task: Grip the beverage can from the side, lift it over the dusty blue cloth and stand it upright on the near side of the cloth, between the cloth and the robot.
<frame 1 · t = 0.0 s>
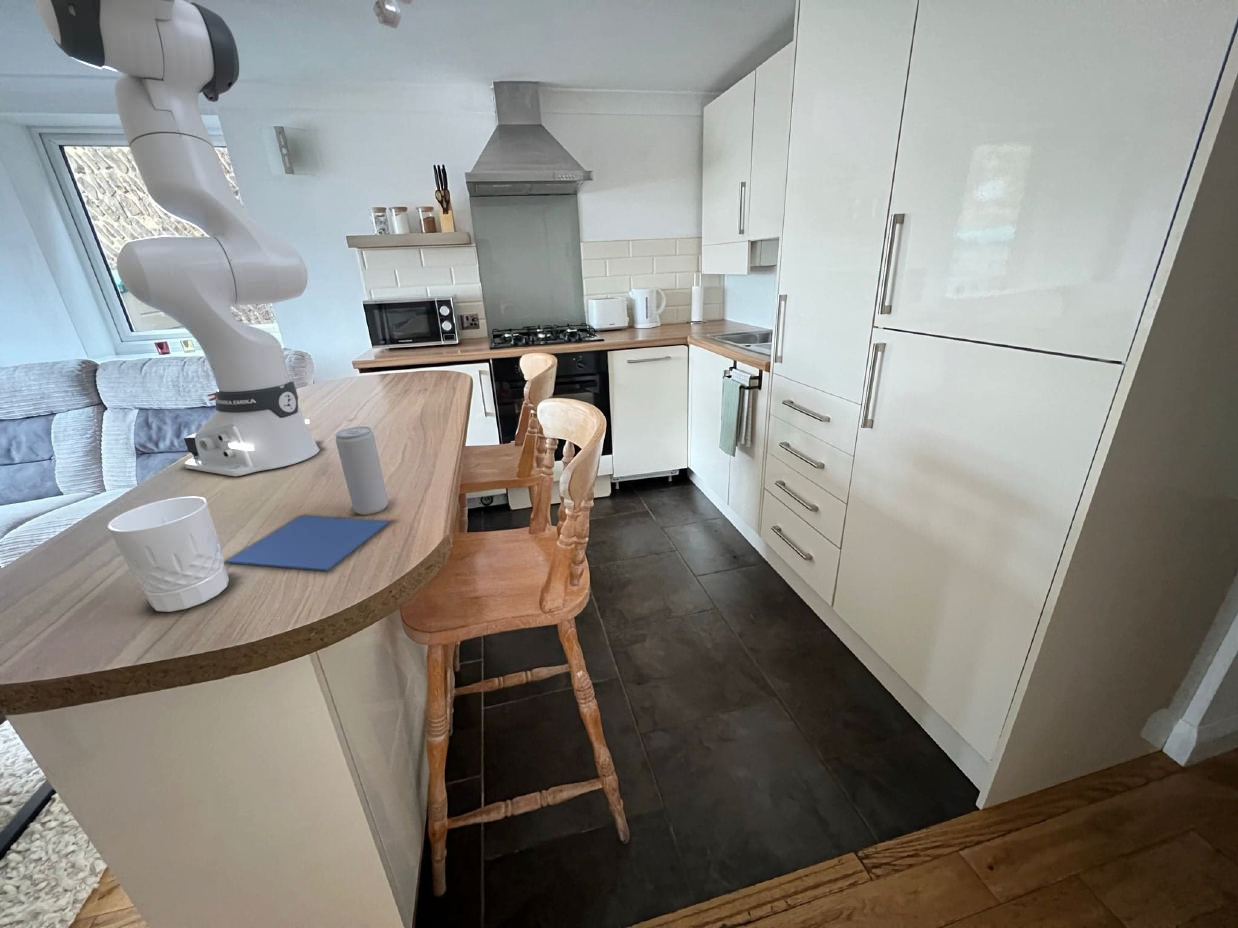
hand: (340, 3, 44), 54 cm above the table, tool tilted 30°, fingers open, 8 cm apart
blue cloth: (312, 541, 66), on the table
beverage can: (372, 509, 75), on the table
white cup: (192, 594, 56), on the table
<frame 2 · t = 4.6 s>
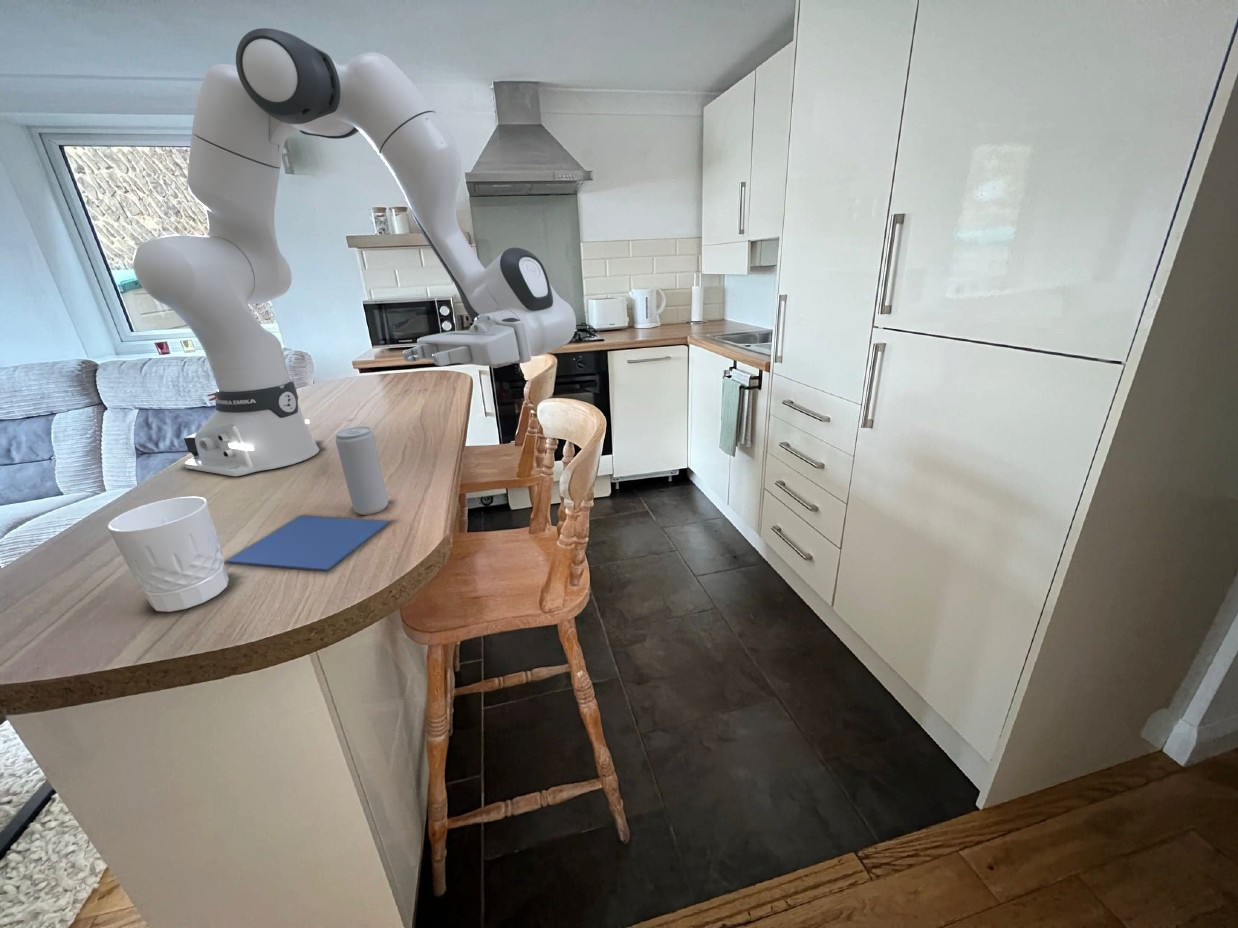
hand: (419, 358, 75), 20 cm above the table, tool horizontal, fingers open, 8 cm apart
nothing on the table moved.
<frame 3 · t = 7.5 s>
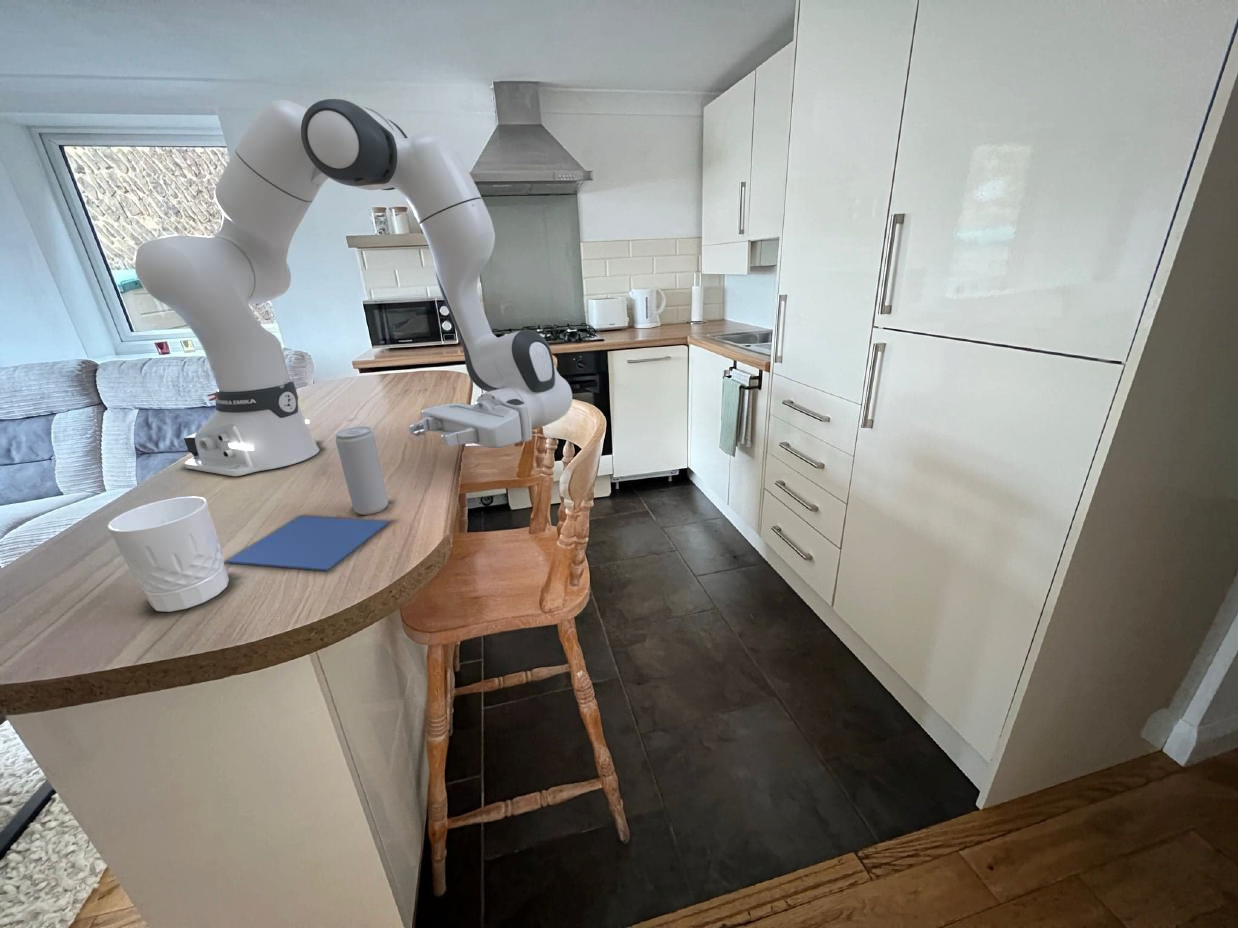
hand: (427, 436, 79), 8 cm above the table, tool horizontal, fingers open, 8 cm apart
nothing on the table moved.
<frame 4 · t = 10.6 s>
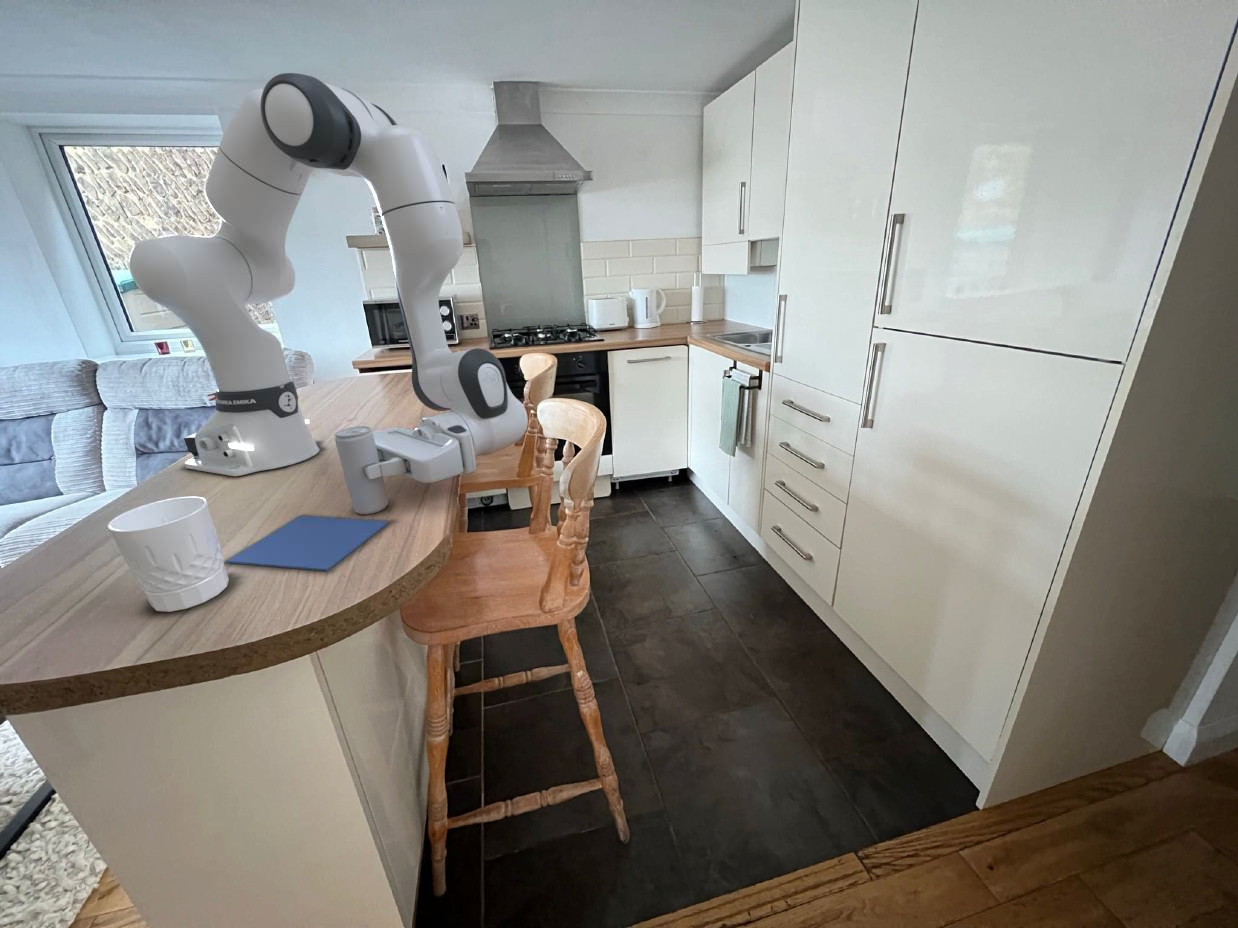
hand: (355, 468, 72), 7 cm above the table, tool horizontal, fingers closed on beverage can, 5 cm apart
beverage can: (372, 509, 75), on the table, touching gripper
everything else where it was.
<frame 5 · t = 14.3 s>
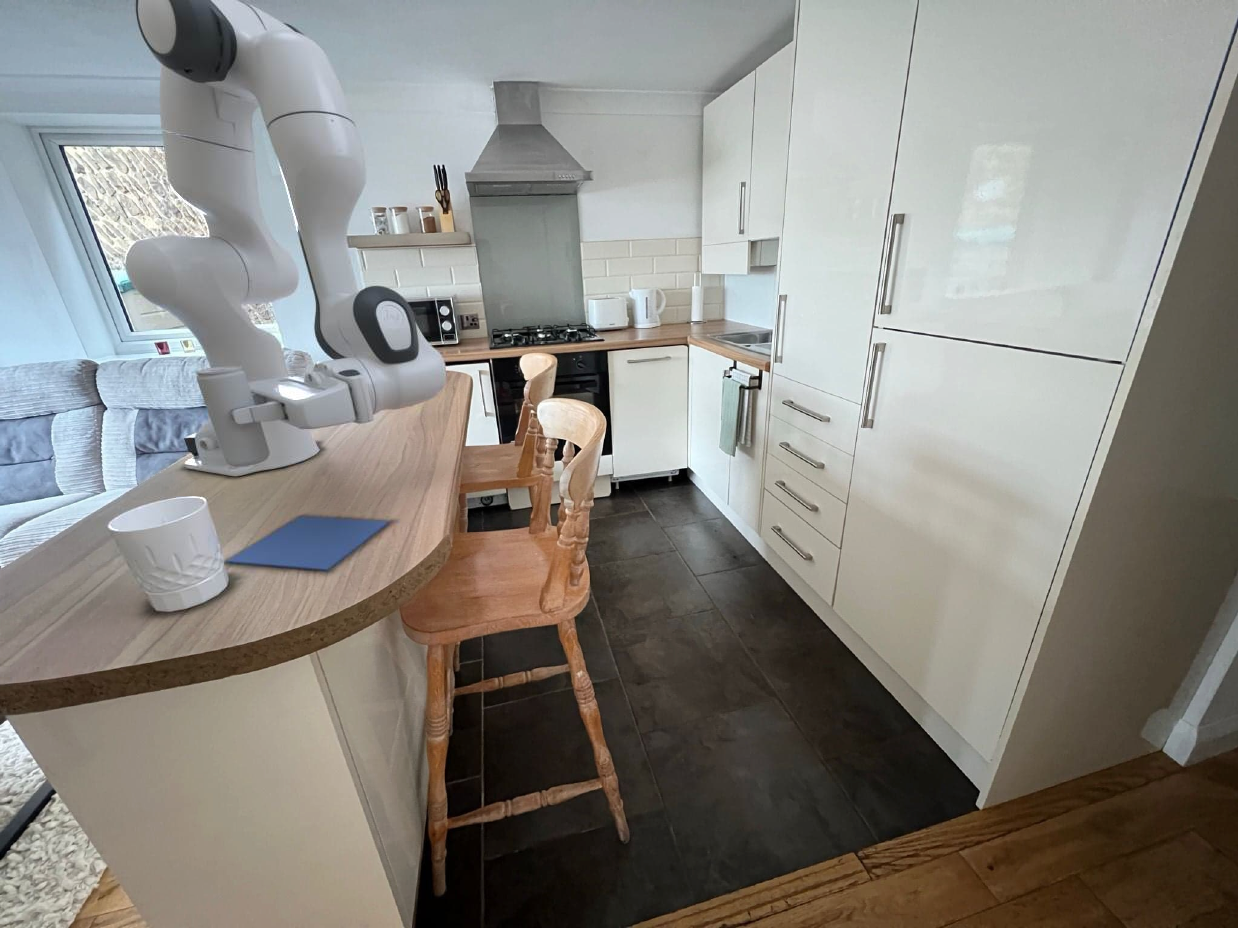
hand: (224, 413, 62), 17 cm above the table, tool horizontal, fingers closed on beverage can, 5 cm apart
beverage can: (249, 462, 66), point 10 cm above the table, touching gripper
everything else where it was.
when the fingers open (7 cm above the table, at t = 18.2 s): beverage can stays where it is, on the table.
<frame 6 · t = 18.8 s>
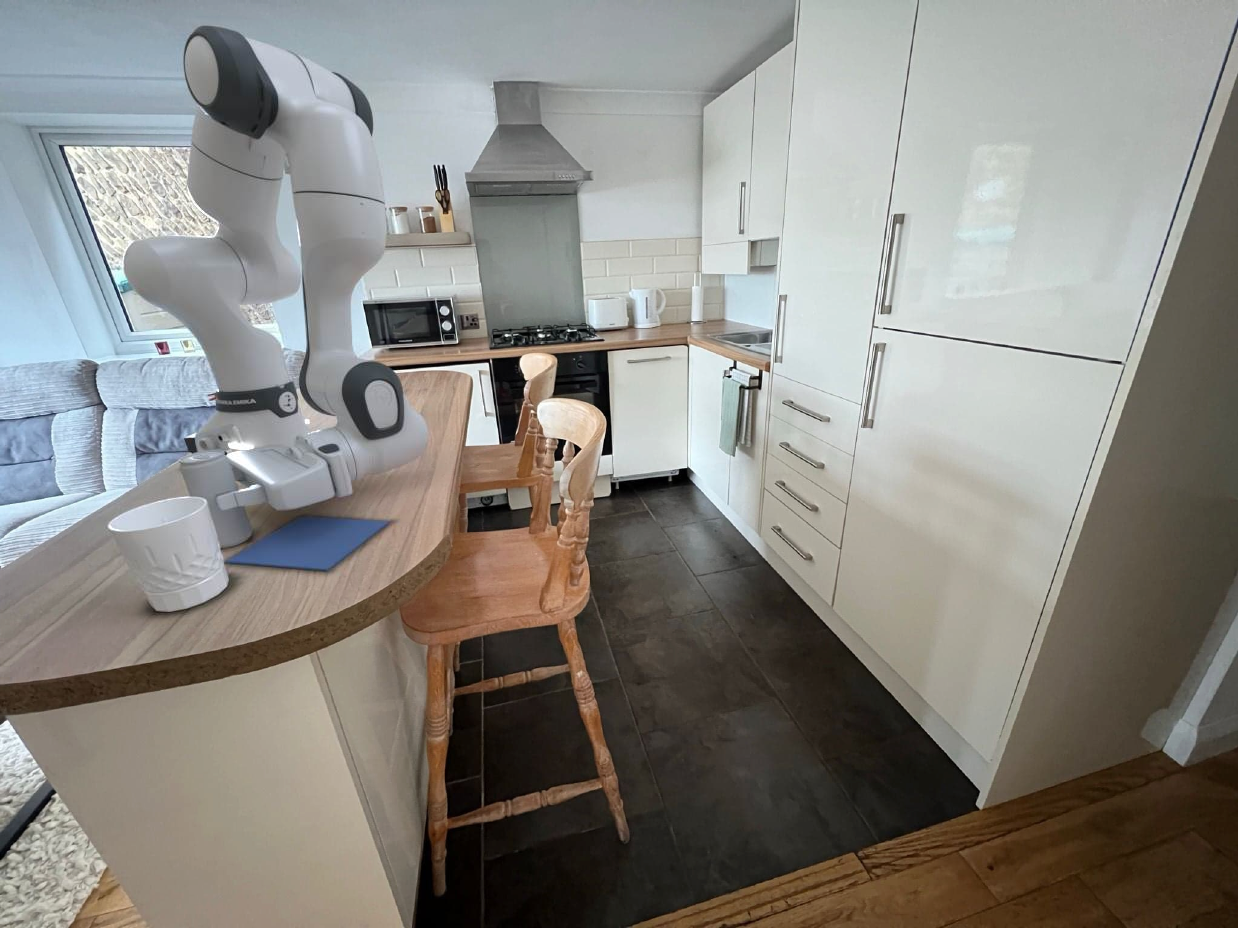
hand: (205, 493, 64), 7 cm above the table, tool horizontal, fingers open, 8 cm apart
beverage can: (232, 541, 67), on the table
everything else where it was.
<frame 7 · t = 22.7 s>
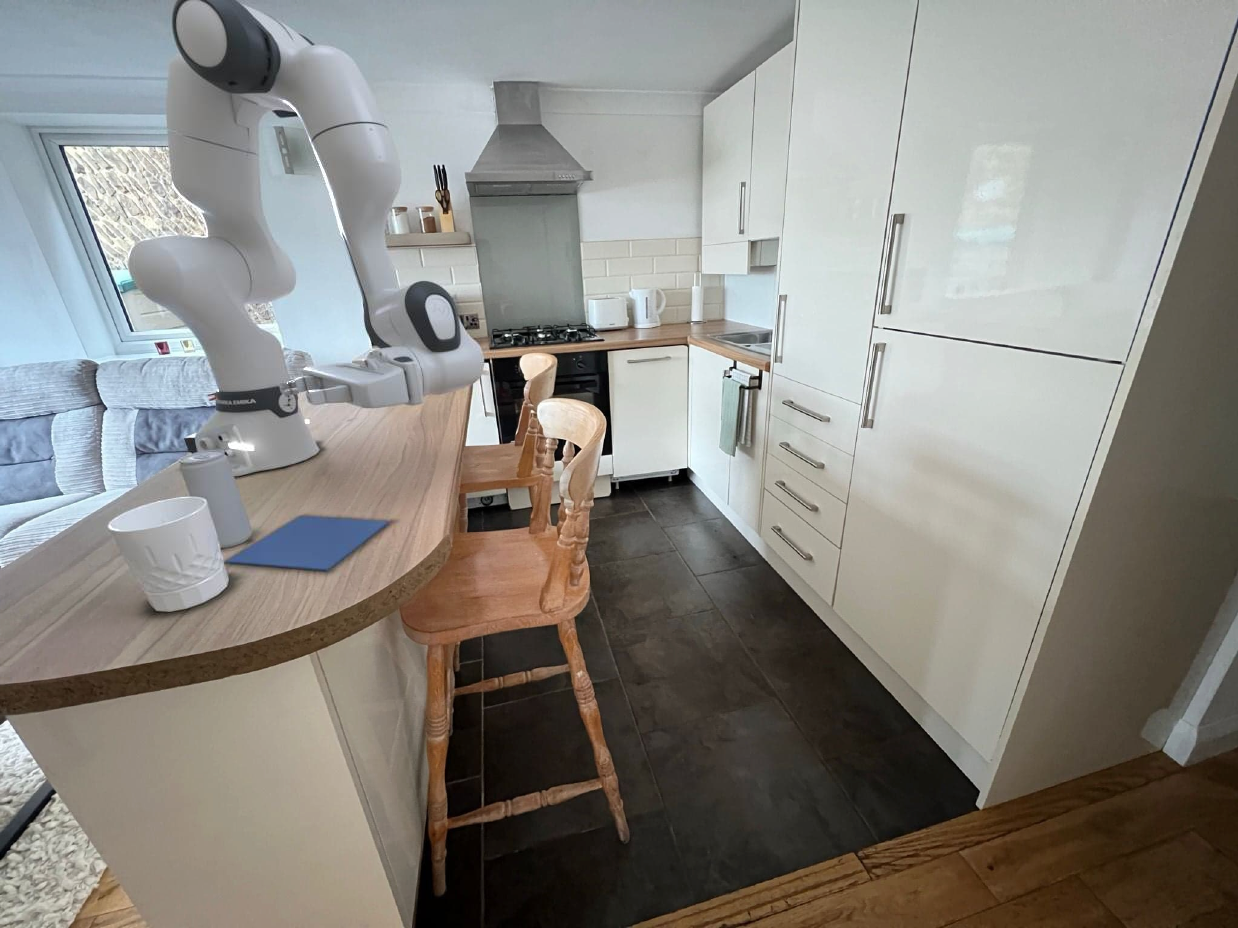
hand: (294, 393, 69), 17 cm above the table, tool horizontal, fingers open, 8 cm apart
nothing on the table moved.
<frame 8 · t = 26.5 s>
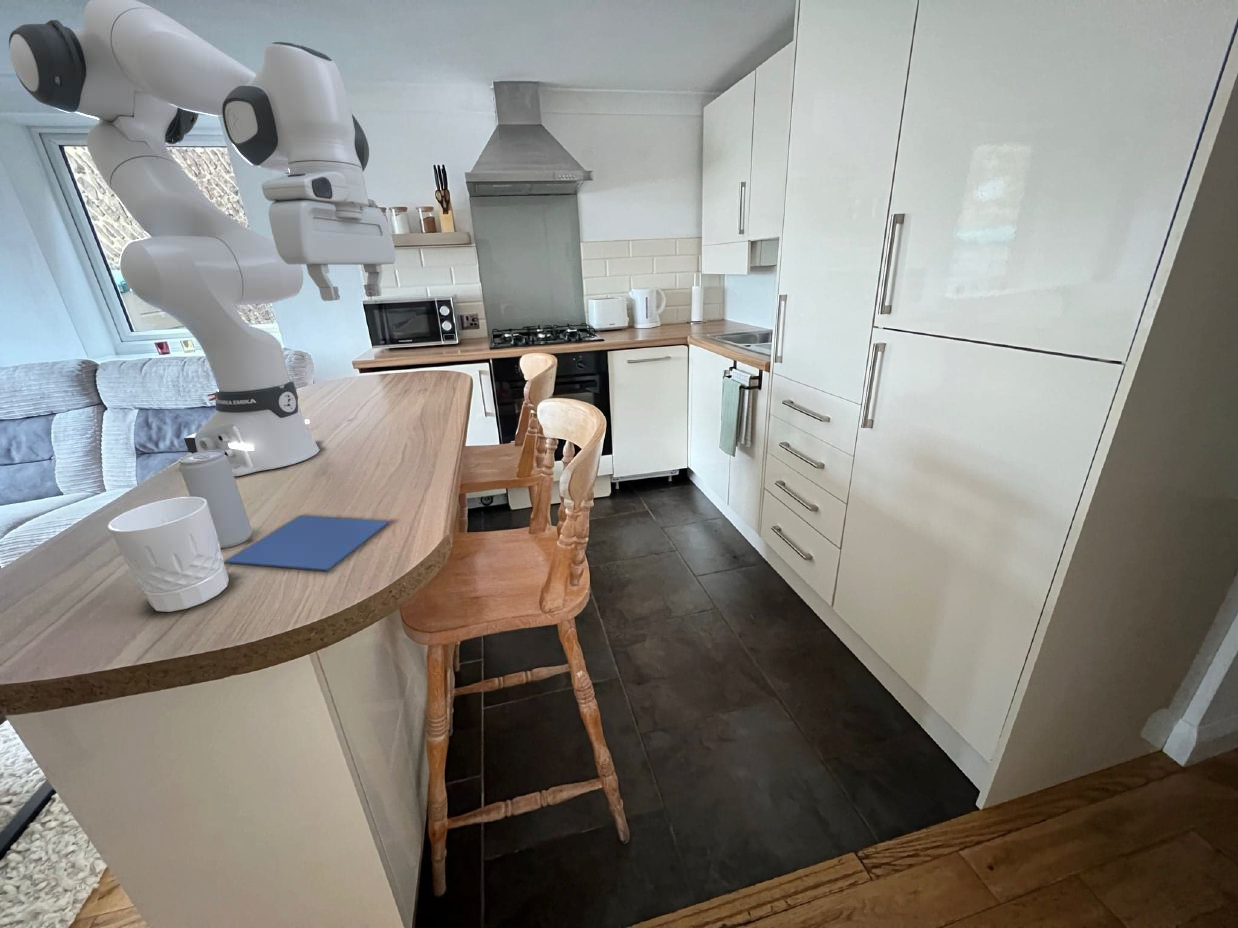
hand: (353, 298, 74), 29 cm above the table, tool pointing down, fingers open, 8 cm apart
nothing on the table moved.
at the end: beverage can inside the target area (0.7 cm from its centre), on the table; beverage can tilted 0°; the gripper is holding nothing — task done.
